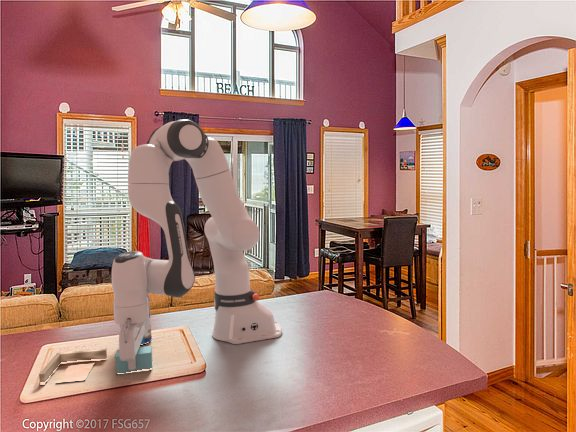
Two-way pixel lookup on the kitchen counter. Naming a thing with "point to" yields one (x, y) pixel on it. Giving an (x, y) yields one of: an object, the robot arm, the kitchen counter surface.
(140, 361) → the teal block
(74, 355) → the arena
